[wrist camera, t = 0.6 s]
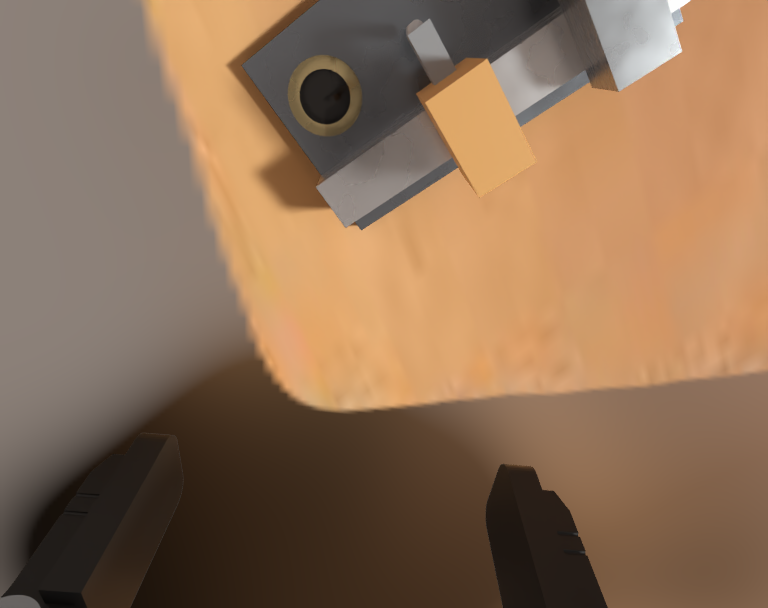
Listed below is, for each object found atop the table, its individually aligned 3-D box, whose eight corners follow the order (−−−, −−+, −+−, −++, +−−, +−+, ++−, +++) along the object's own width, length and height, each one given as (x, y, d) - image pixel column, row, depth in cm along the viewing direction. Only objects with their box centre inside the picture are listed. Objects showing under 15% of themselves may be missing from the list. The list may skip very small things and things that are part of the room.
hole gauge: (599, -230, 21) (691, -347, 15) (672, 22, 26) (764, 12, 20) (245, 65, 27) (207, 68, 21) (361, 225, 32) (358, 266, 25)
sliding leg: (432, 6, 24) (453, -12, 17) (498, 136, 27) (537, 161, 21) (385, 42, 24) (388, 38, 18) (455, 165, 28) (479, 197, 21)
